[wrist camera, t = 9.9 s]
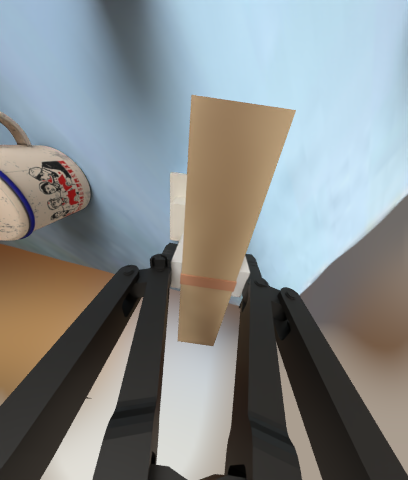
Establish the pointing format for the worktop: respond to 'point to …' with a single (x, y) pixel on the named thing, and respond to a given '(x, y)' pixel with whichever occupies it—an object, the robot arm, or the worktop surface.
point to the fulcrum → (177, 204)
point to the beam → (223, 203)
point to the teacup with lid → (36, 185)
